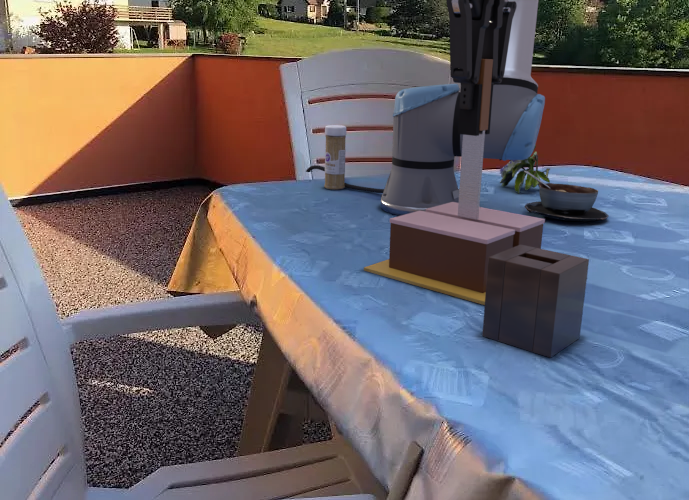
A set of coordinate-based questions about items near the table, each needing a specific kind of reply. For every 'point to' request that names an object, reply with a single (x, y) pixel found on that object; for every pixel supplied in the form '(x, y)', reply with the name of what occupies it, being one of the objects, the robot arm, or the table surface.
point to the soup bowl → (566, 202)
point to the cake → (453, 248)
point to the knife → (475, 152)
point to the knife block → (535, 299)
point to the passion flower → (523, 173)
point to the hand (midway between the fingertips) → (473, 133)
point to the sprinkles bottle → (335, 157)
